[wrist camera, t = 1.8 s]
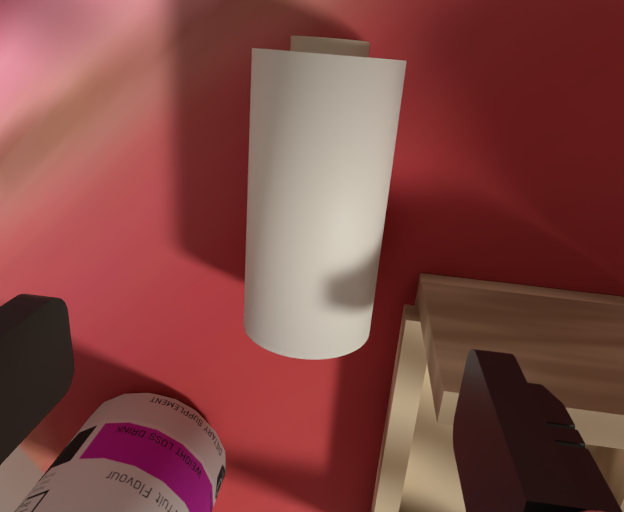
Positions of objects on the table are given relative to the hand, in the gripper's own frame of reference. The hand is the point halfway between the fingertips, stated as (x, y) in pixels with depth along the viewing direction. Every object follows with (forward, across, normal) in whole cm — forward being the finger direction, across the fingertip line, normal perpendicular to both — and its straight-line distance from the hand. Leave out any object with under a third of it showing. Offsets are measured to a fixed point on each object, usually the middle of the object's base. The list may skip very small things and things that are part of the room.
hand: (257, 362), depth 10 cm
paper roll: (+14, 0, 0) cm, 14 cm away
